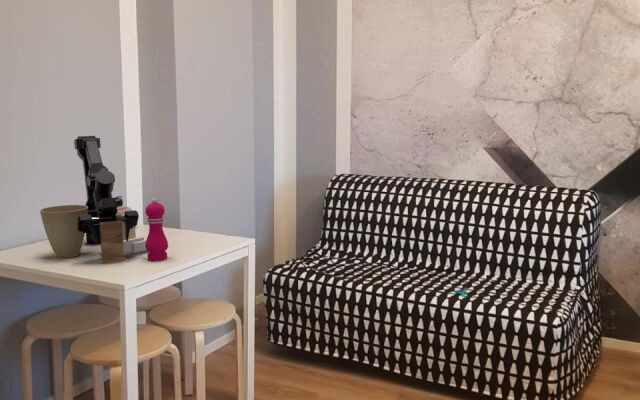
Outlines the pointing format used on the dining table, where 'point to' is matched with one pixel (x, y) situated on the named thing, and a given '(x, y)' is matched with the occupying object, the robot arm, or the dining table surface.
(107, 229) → the door
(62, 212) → the plant pot
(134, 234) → the candle
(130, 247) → the board
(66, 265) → the dining table surface
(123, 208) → the cupcake
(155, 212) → the pepper mill
